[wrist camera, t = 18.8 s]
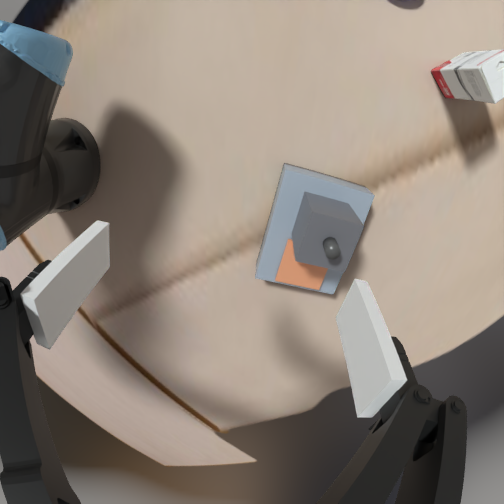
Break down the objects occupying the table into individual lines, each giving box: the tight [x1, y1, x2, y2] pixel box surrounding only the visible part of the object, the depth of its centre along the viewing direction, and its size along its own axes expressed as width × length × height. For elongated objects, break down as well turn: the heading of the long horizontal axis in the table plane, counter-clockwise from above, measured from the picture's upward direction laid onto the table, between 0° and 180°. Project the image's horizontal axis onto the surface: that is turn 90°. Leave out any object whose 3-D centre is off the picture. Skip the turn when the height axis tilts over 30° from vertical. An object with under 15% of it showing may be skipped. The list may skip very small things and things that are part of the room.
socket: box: [255, 163, 374, 294], centre depth 40 cm, size 12×16×4 cm
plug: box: [291, 191, 364, 272], centre depth 35 cm, size 6×6×12 cm
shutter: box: [275, 239, 328, 290], centre depth 39 cm, size 7×7×3 cm
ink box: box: [431, 50, 504, 104], centre depth 24 cm, size 9×5×12 cm, turn 127°
